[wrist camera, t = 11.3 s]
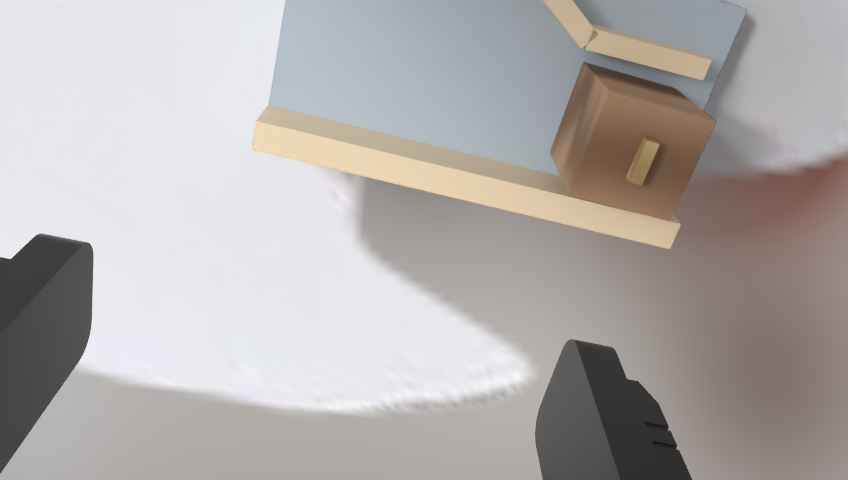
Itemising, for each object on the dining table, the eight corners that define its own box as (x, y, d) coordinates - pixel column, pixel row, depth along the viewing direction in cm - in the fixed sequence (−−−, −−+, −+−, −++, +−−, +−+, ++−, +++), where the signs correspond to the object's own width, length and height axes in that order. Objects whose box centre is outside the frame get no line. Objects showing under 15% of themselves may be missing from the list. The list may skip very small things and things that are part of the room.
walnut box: (583, 61, 36) (612, 94, 30) (674, 87, 37) (721, 125, 31) (549, 152, 39) (570, 199, 33) (636, 176, 39) (673, 226, 33)
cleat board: (307, -114, 34) (292, -114, 30) (737, 5, 36) (773, 19, 33) (269, 124, 39) (251, 149, 35) (648, 216, 41) (669, 249, 38)
